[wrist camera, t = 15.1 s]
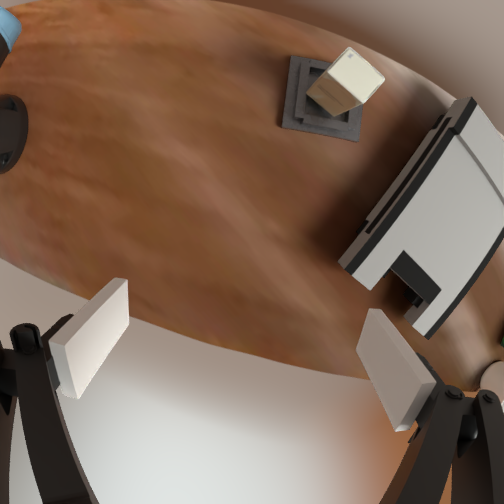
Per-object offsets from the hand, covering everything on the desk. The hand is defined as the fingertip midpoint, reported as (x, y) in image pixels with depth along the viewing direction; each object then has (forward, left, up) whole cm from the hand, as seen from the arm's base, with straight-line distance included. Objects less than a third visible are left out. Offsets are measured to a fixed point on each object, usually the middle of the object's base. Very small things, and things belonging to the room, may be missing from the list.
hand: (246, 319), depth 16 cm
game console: (+29, +5, -29) cm, 42 cm away
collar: (+8, +19, -29) cm, 35 cm away
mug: (+64, -30, -29) cm, 76 cm away
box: (+8, +19, -26) cm, 33 cm away
